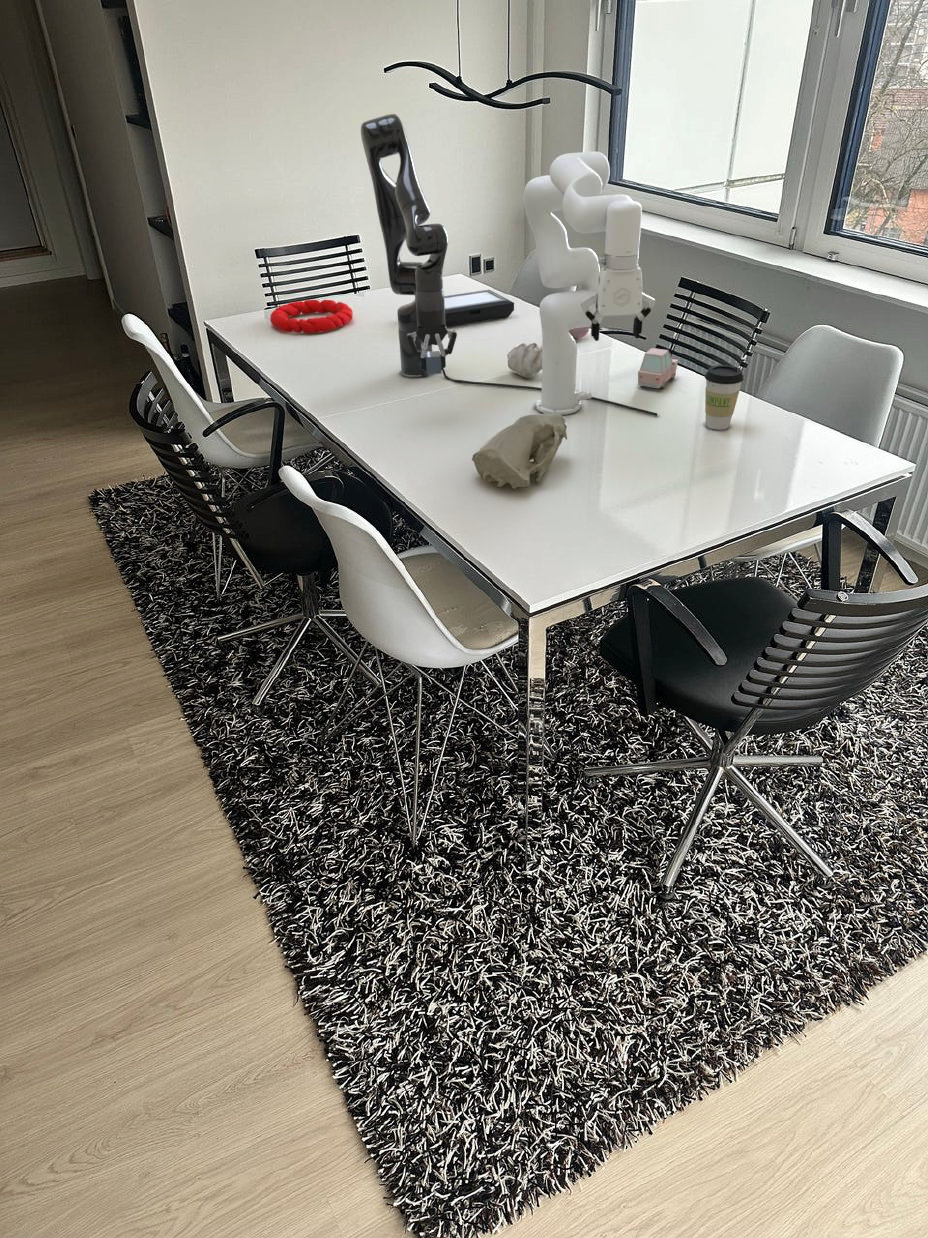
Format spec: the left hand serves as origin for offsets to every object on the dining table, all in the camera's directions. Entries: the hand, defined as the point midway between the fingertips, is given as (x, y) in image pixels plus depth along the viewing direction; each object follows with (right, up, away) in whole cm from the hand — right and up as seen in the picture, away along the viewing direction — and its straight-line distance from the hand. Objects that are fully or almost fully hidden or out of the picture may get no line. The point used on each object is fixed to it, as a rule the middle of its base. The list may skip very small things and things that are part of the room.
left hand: (433, 369), depth 244 cm
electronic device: (+8, +43, +85) cm, 96 cm away
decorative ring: (-48, +41, +85) cm, 105 cm away
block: (0, 0, 0) cm, 1 cm away
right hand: (+44, -2, -35) cm, 56 cm away
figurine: (+46, +28, +62) cm, 82 cm away
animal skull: (+24, -32, -25) cm, 47 cm away
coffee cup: (+77, -17, -5) cm, 78 cm away
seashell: (+28, +7, +31) cm, 43 cm away
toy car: (+67, +3, +24) cm, 71 cm away
